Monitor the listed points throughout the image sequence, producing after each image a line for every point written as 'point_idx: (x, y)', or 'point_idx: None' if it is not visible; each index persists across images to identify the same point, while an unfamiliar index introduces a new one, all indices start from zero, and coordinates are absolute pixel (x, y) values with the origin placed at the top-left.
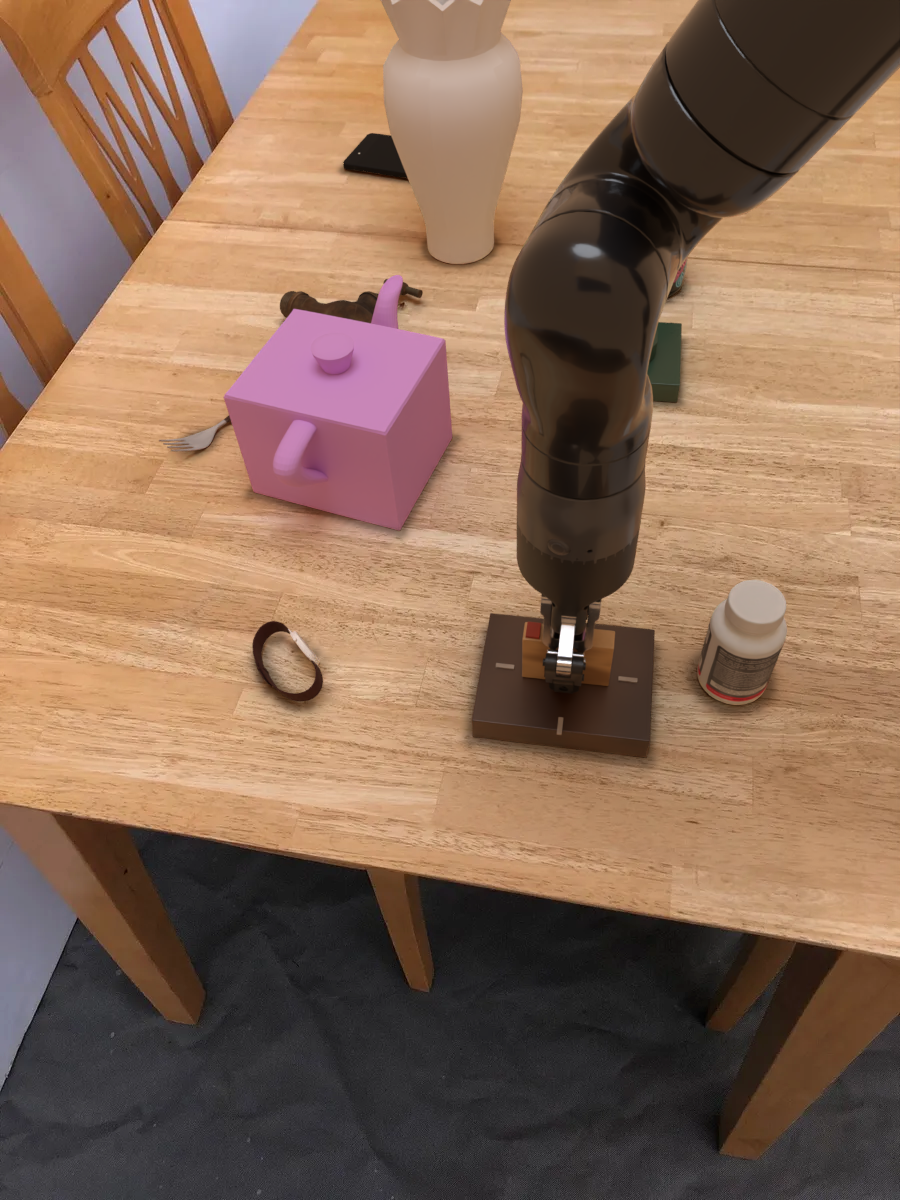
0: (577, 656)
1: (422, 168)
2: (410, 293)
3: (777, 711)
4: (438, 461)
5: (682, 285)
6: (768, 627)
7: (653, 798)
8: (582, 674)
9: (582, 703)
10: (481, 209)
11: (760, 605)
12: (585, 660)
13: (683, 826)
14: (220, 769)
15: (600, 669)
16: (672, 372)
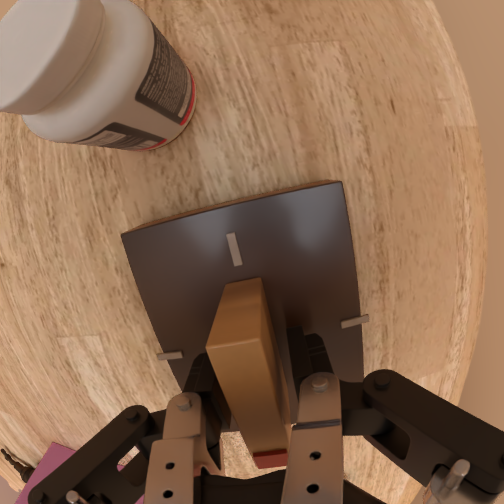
0: (495, 487)
1: None
2: (6, 454)
3: (185, 37)
4: (75, 451)
5: None
6: None
7: (381, 157)
8: (381, 387)
9: (306, 304)
10: None
11: (29, 23)
12: (323, 385)
13: (402, 116)
14: (398, 476)
15: (265, 314)
16: None
